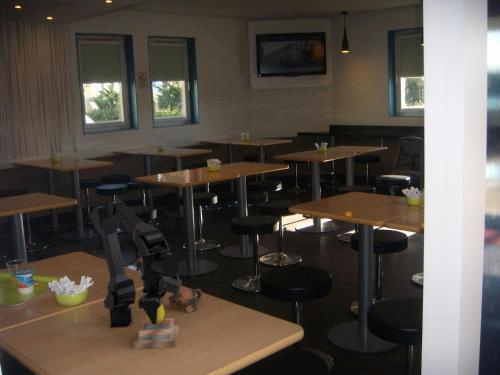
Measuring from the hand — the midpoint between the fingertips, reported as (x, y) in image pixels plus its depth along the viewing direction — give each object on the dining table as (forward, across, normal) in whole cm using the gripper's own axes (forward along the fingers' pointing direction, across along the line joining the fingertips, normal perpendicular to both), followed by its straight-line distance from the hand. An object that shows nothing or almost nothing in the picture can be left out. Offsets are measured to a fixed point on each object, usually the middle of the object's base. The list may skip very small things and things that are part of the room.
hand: (155, 320), depth 173 cm
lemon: (+2, 0, 0) cm, 2 cm away
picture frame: (+6, 0, 0) cm, 6 cm away
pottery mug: (+7, +26, -7) cm, 28 cm away
